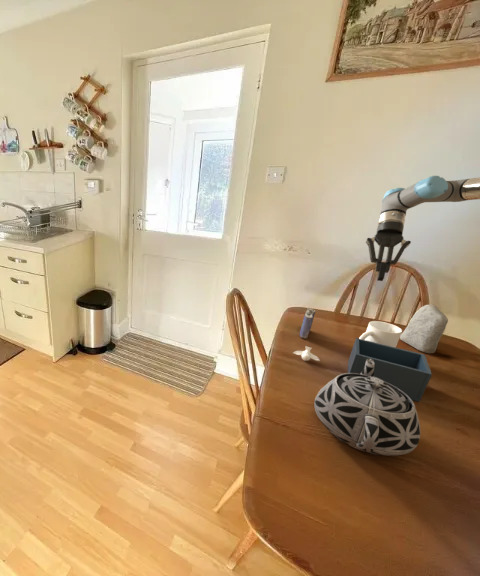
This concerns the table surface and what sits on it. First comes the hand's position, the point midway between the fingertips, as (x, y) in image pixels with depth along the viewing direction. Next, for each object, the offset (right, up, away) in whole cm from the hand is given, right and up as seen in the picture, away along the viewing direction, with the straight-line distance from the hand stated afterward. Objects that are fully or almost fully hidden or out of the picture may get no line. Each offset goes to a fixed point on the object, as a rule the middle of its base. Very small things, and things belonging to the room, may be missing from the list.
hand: (380, 279), depth 117 cm
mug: (-14, -26, -11) cm, 31 cm away
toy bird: (-38, -27, -14) cm, 49 cm away
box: (-22, -31, -24) cm, 45 cm away
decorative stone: (+6, -24, -7) cm, 26 cm away
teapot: (-43, -38, -41) cm, 70 cm away
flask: (-27, -21, +2) cm, 35 cm away
